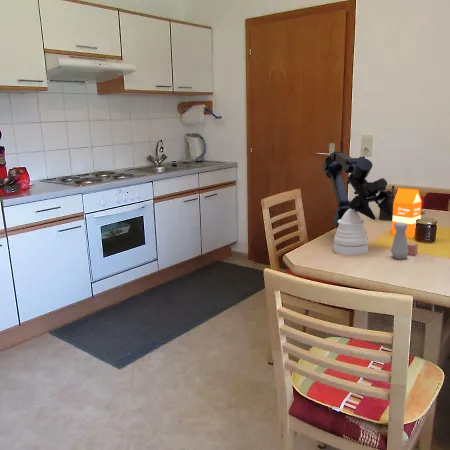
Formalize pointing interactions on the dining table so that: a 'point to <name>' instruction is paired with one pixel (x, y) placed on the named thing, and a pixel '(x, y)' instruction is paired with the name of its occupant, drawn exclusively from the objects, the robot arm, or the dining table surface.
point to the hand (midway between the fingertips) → (383, 217)
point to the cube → (412, 248)
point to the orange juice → (406, 210)
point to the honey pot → (351, 235)
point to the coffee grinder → (382, 214)
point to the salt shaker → (400, 241)
